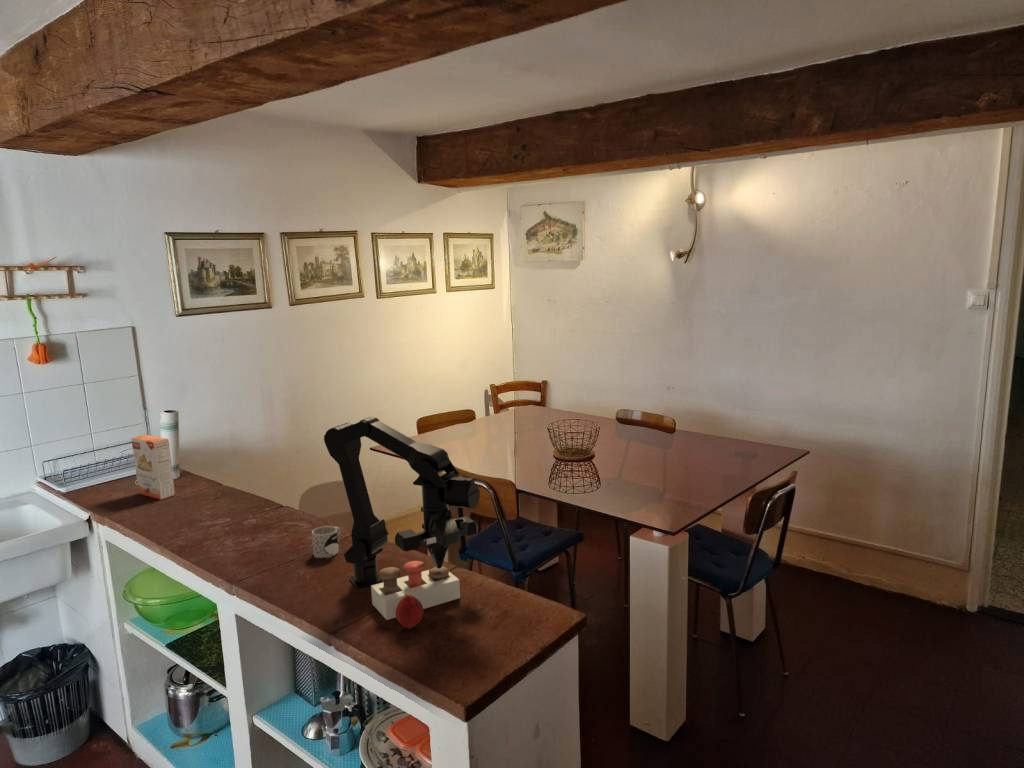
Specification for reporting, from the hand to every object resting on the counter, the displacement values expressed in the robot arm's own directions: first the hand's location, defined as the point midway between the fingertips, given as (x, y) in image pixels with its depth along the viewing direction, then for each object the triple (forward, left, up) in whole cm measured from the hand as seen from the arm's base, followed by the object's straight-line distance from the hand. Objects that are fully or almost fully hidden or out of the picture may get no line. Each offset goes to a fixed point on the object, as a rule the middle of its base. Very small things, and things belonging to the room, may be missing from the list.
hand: (438, 567), depth 162 cm
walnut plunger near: (0, -12, -3) cm, 12 cm away
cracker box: (-128, -50, -7) cm, 138 cm away
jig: (0, -6, -6) cm, 9 cm away
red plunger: (0, -6, -3) cm, 7 cm away
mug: (-41, -14, -7) cm, 44 cm away
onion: (+11, -12, -7) cm, 17 cm away
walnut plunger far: (0, 0, -6) cm, 6 cm away
